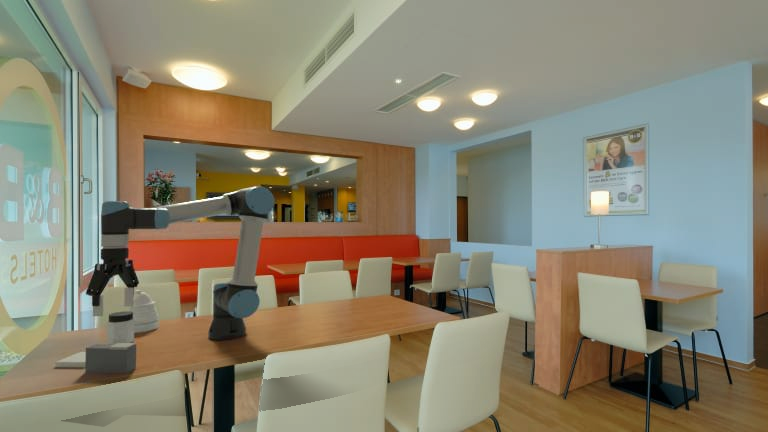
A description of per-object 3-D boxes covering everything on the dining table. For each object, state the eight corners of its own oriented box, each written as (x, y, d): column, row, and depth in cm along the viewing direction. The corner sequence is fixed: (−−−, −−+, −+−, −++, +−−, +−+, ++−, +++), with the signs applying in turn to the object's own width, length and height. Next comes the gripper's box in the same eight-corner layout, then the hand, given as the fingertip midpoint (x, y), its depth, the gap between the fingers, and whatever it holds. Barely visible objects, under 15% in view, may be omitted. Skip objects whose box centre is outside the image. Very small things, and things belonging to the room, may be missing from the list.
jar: (105, 348, 143) (106, 317, 143) (107, 342, 150) (108, 312, 150) (133, 344, 148) (134, 314, 148) (134, 338, 155) (134, 310, 155)
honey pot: (133, 334, 161) (134, 293, 162) (119, 329, 168) (120, 290, 169) (163, 327, 172) (164, 288, 173) (149, 323, 179) (150, 286, 179)
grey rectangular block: (135, 368, 123) (136, 343, 123) (126, 373, 119) (127, 347, 119) (95, 367, 124) (96, 342, 124) (85, 372, 119) (85, 346, 120)
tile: (107, 352, 134) (80, 351, 134) (84, 362, 124) (55, 361, 124) (107, 358, 134) (80, 357, 134) (84, 368, 124) (55, 368, 124)
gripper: (130, 245, 136) (130, 302, 135) (71, 250, 111) (70, 320, 110) (150, 245, 136) (150, 302, 135) (95, 250, 111) (95, 320, 110)
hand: (114, 311), depth 123 cm, fingers open, 13 cm apart
